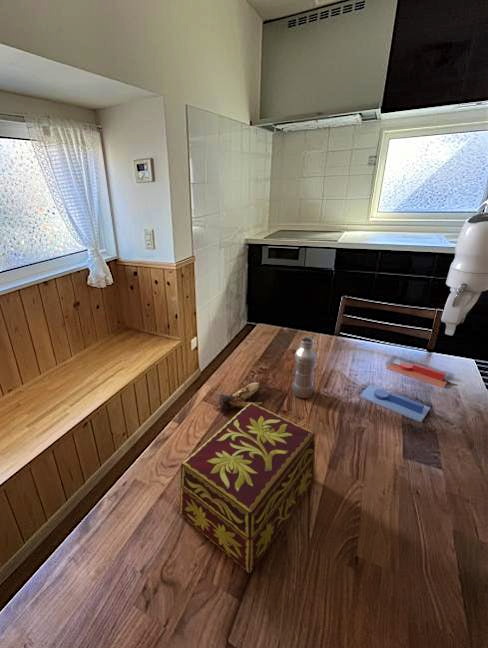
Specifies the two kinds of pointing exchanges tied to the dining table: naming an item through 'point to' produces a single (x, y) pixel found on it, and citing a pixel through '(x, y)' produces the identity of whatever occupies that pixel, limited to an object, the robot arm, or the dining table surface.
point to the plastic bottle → (304, 368)
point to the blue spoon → (399, 400)
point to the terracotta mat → (417, 376)
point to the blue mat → (393, 405)
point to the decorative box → (247, 482)
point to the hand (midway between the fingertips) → (454, 328)
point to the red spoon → (423, 370)
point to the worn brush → (238, 398)
